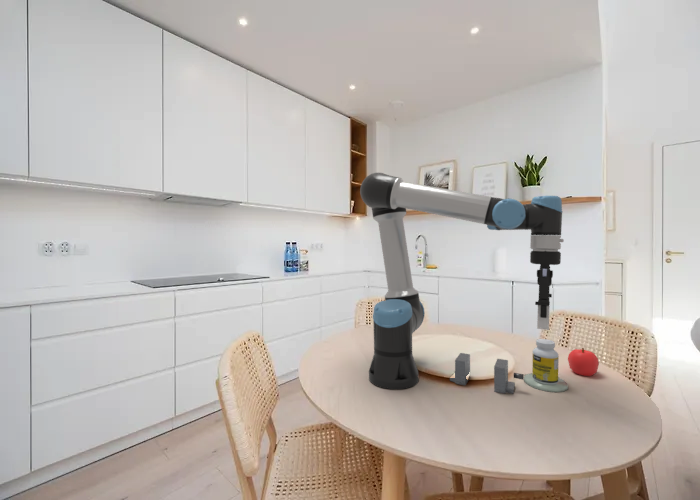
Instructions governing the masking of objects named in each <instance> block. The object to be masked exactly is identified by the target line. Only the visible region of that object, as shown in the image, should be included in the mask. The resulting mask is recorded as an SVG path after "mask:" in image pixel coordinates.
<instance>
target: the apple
mask: <svg viewBox="0 0 700 500" xmlns="http://www.w3.org/2000/svg"><path fill="white" fill-rule="evenodd" d="M567 356H568V357H567V361H568V362H567V363H568V366H569V369H571V370H572V371H573V372H574V373H575V374H576V375H579V376H584V377H591V376H594V375H595V374H596V373H598V368H599V364H600V362H599V358H598V357H597V356H596V354H595V353H594V352H593V351H591V350H586V349H585V347H582V348H581V349H579V348H575V349H573V350H571V351H570V352H569V353H568V355H567Z"/></svg>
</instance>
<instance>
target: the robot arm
mask: <svg viewBox="0 0 700 500" xmlns="http://www.w3.org/2000/svg"><path fill="white" fill-rule="evenodd" d="M359 190H360V191H359V193H360V194H359V195H360V198H361V199H362V202H363V203H364V204H365V206H368V207H369V208H371V212H372V218H373V220H374V221H376V222H377V224H378V231H379V237H380V243H381V250H382V251H381V252H382V257H383V262H384V263H383V265H384V269H385V277H386V278H385V279H386V283H387V284H386V285H387V292H386V294H385V295H384V300H381V301H379V302H377V303H376V304H375V305H374V307H373V314H372V319H373V320H372V321H373V323H372V324H373V349H374V351H373V356H372V359H371V362H370V366H369V368H368V380H369V382H370V383H371V384H373V385H374V386H377V387H380V388H383V389H387V390H403V389H408V388H411V387H414V386H415V385H417V384H418V382H419V370H418V366H417V364H416V361H415V357H414V355H413V354H414V353H413V333H415V332H416V331H417V330H418V329H419V328H420V327H421V325H422V323H423V322H424V318H425V308H424V305H423V303H422V302H421V301H420V295H419V291H418V290H417V289H416V288H414V285H413V278H412V271H411V264H410V257H409V252H408V245H407V238H406V231H405V225H404V223H405V222H404V218H405V216H406V215H407V210H412V211H417V212H418V211H419V212H423V213H428V214H433V215H436V216H437V215H438V216H442V217H446V218H447V217H448V218H453V219H457V220H463V221H466V222H467V221H468V222H472V223H477V224H481V225H482V224H483V225H485V226H486V228H487V229H488V230H491V231H494V230H495V231H513V230H514V231H516V230H517V231H518V230H519V231H520V230H521V231H522V230H525V231H526V230H527V231H529V230H530V232H531V233H530V247H529V248H530V249H531V251H530V256H529V257H530V258H529V259H530V260H529V261H530V263H531V264H533V265H540V266H539V269H537V270H536V277H537V283H536V284H537V285H538V300H537V301H535V305H536V306H537V321H536V322H537V325H536V327H537V328H536V329H538V330H544V331H545V330H546V331H549V330H550V306H551V305H550V303H551V302H550V298H553V297H552V295H553V294H552V293H550V286H552V279H553V275H554V270H552V269H551V266H552V265H553V266H555V265H556V266H557V265H561V259H562V256H561V255H562V253H561V252H560V251H559V250H561V247H562V244H561V243H564V239H563V238H562V225H563V224H562V221H563V206H562V205H563V203H562V202H563V201H562V198H561V197H560V196H559V195H537V196H534V197H532V199H531V202H530V203H525V204H523V203H521V202H520V201H519V200H517V199H514V198H499V197H492V196H489V195H482V194H478V193H477V194H476V193H472V192H471V193H470V192H467V191H466V192H465V191H460V190H453V189H449V188H443V187H437V186H436V187H435V186H431V185H430V186H429V185H424V184H418V183H414V182H413V183H412V182H407V181H404V180H403V178H402V177H399V176H394V175H390V174H385V173H384V172H373V173H371V174H369V175H367V176H366V177H365V178H364V179H363V181H362V182H361V184H360V189H359ZM550 265H551V266H550Z"/></svg>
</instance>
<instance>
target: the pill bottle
mask: <svg viewBox="0 0 700 500" xmlns="http://www.w3.org/2000/svg"><path fill="white" fill-rule="evenodd" d="M535 345H536V347H535V348H533V349H532V375H533V379H534V380H535V381H537V382H539V383H542V384H547V385H554V384H557V383H558V378H559V352H557V351H556V350H555V348H556V342H555V341H553V340H552V339H546V338H539V339H536V340H535Z"/></svg>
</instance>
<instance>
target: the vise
mask: <svg viewBox="0 0 700 500" xmlns="http://www.w3.org/2000/svg"><path fill="white" fill-rule="evenodd" d="M454 371H455V378H450V377H449V381H450V382H453V383H455V385H460V386H466V385H467V383H468V381H469V380H467V379H466V376H467V375H468V374H469V372H470V373H471V354H470V353H464V352H460V353H459V354H458V356H457V357H456V358H455V360H454ZM493 374H494V375H493V376H494V377H493V381H494V383H493V385H494V386H493V390H494V391H493V392H494V393H495V392H496V393H500V394H504V395H505V394H506V393H509V394H514V391H515V387H516V386H515V382H514V381H509V360H508V359H503V358H497V359H496V361H495V363H494V366H493ZM524 376H525V375H524V374H523V373H517V372H513V379H518V380H522V381H524Z"/></svg>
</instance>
